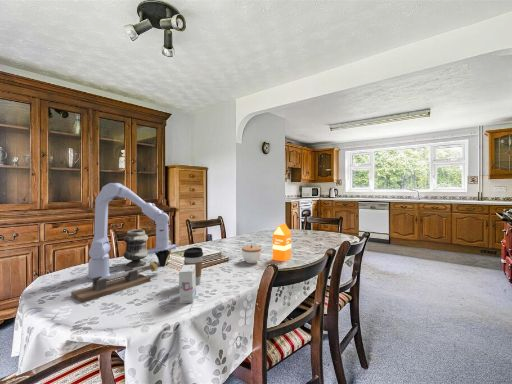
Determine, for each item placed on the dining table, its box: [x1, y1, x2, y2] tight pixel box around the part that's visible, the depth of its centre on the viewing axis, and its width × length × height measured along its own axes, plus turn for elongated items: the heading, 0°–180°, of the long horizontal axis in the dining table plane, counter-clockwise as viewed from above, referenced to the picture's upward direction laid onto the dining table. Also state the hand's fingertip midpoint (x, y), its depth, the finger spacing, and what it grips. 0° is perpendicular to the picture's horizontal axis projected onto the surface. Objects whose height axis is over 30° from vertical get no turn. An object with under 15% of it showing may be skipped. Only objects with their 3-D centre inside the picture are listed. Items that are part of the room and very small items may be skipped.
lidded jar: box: [241, 244, 262, 264], centre depth 149 cm, size 11×11×9 cm
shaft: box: [98, 261, 159, 282], centre depth 116 cm, size 4×24×4 cm, turn 143°
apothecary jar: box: [123, 229, 149, 268], centre depth 142 cm, size 12×12×18 cm
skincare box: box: [157, 240, 172, 266], centre depth 144 cm, size 6×4×12 cm
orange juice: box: [272, 223, 292, 262], centre depth 156 cm, size 8×9×20 cm
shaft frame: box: [71, 267, 151, 304], centre depth 111 cm, size 10×27×6 cm, turn 143°
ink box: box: [178, 264, 197, 304], centre depth 101 cm, size 9×5×12 cm, turn 5°
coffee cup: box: [183, 246, 204, 286], centre depth 116 cm, size 8×8×15 cm
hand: (162, 266), depth 129 cm, fingers closed
